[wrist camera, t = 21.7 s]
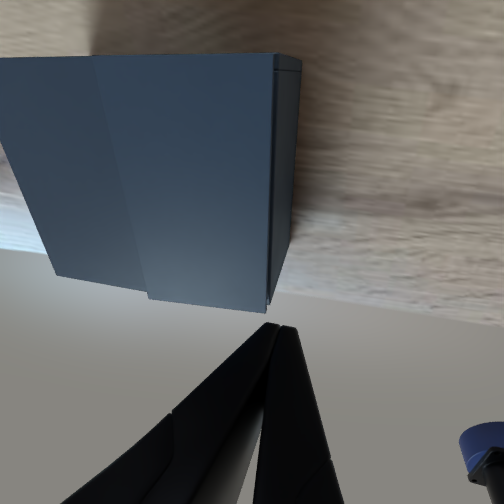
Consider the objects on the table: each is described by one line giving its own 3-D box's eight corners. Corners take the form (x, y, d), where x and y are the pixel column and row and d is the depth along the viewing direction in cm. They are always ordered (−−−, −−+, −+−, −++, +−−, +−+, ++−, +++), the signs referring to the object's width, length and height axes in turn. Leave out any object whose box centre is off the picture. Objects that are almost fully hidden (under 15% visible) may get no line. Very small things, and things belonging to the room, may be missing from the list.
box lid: (274, 53, 9) (273, 52, 9) (266, 309, 15) (265, 314, 15) (96, 55, 10) (91, 55, 10) (151, 295, 16) (148, 299, 16)
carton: (302, 60, 15) (275, 50, 9) (288, 246, 21) (266, 314, 15) (88, 63, 18) (-37, 57, 12) (128, 225, 24) (55, 276, 18)
